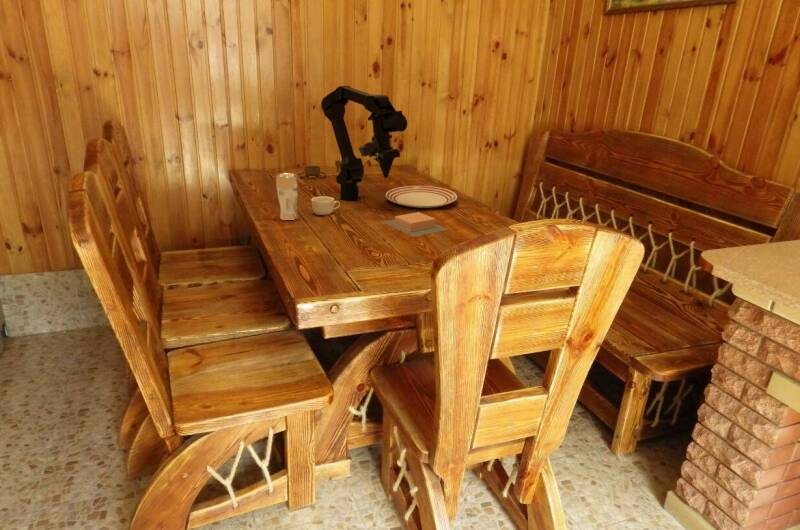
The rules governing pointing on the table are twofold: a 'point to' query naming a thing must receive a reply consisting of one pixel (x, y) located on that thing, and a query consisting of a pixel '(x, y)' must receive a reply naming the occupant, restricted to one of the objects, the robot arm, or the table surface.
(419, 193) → the dinner plate
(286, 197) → the beer glass
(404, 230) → the mat
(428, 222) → the tile
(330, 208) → the teacup
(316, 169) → the place setting
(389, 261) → the table surface
